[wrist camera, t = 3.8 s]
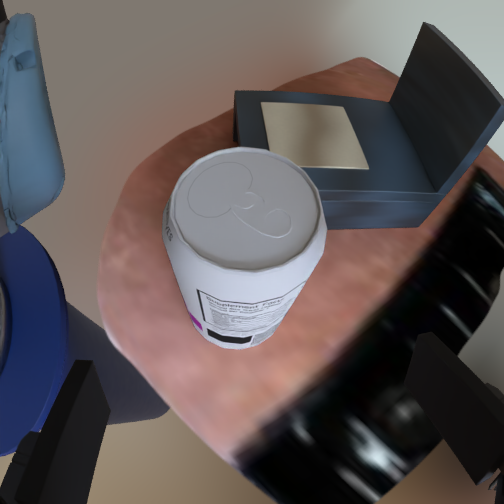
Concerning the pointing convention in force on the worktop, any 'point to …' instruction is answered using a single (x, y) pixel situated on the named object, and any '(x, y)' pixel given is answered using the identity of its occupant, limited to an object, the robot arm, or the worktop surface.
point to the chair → (381, 136)
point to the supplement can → (242, 242)
